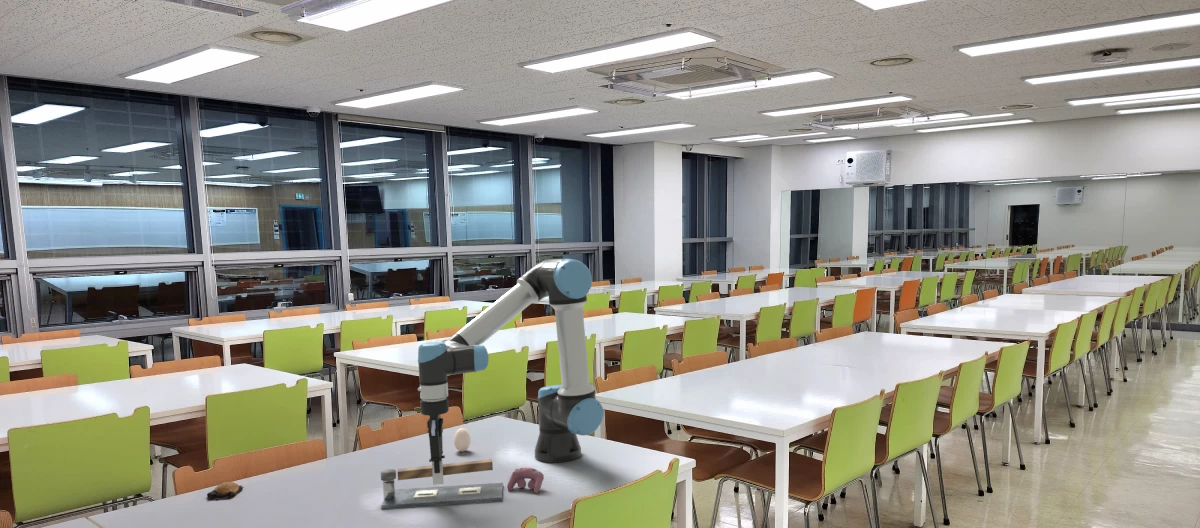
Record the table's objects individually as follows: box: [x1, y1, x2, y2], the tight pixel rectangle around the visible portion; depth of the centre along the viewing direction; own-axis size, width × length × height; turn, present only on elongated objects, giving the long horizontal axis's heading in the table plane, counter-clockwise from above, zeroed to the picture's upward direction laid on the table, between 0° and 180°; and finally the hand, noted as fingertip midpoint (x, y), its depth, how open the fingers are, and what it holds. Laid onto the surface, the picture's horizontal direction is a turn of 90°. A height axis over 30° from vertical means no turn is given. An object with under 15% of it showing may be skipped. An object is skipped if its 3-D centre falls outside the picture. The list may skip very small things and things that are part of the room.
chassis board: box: [380, 479, 504, 510], centre depth 202 cm, size 32×12×6 cm, turn 96°
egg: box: [453, 427, 471, 453], centre depth 246 cm, size 6×6×8 cm
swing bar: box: [380, 458, 494, 482], centre depth 204 cm, size 30×4×2 cm, turn 105°
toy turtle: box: [206, 481, 244, 502], centre depth 211 cm, size 11×8×4 cm
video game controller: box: [507, 467, 545, 494], centre depth 207 cm, size 10×5×7 cm, turn 71°
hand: (438, 483), depth 201 cm, fingers closed
